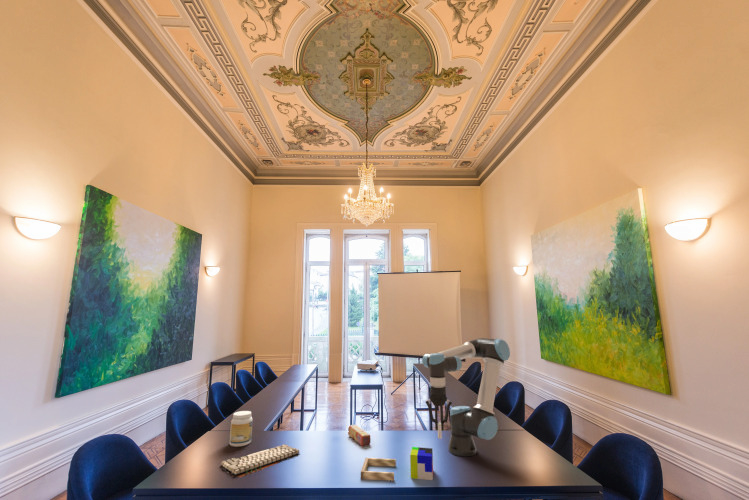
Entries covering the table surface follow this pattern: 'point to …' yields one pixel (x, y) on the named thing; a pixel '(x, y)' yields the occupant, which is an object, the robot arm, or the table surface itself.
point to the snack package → (359, 435)
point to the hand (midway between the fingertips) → (439, 437)
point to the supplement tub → (241, 429)
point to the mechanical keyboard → (258, 460)
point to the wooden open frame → (377, 475)
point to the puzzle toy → (421, 463)
